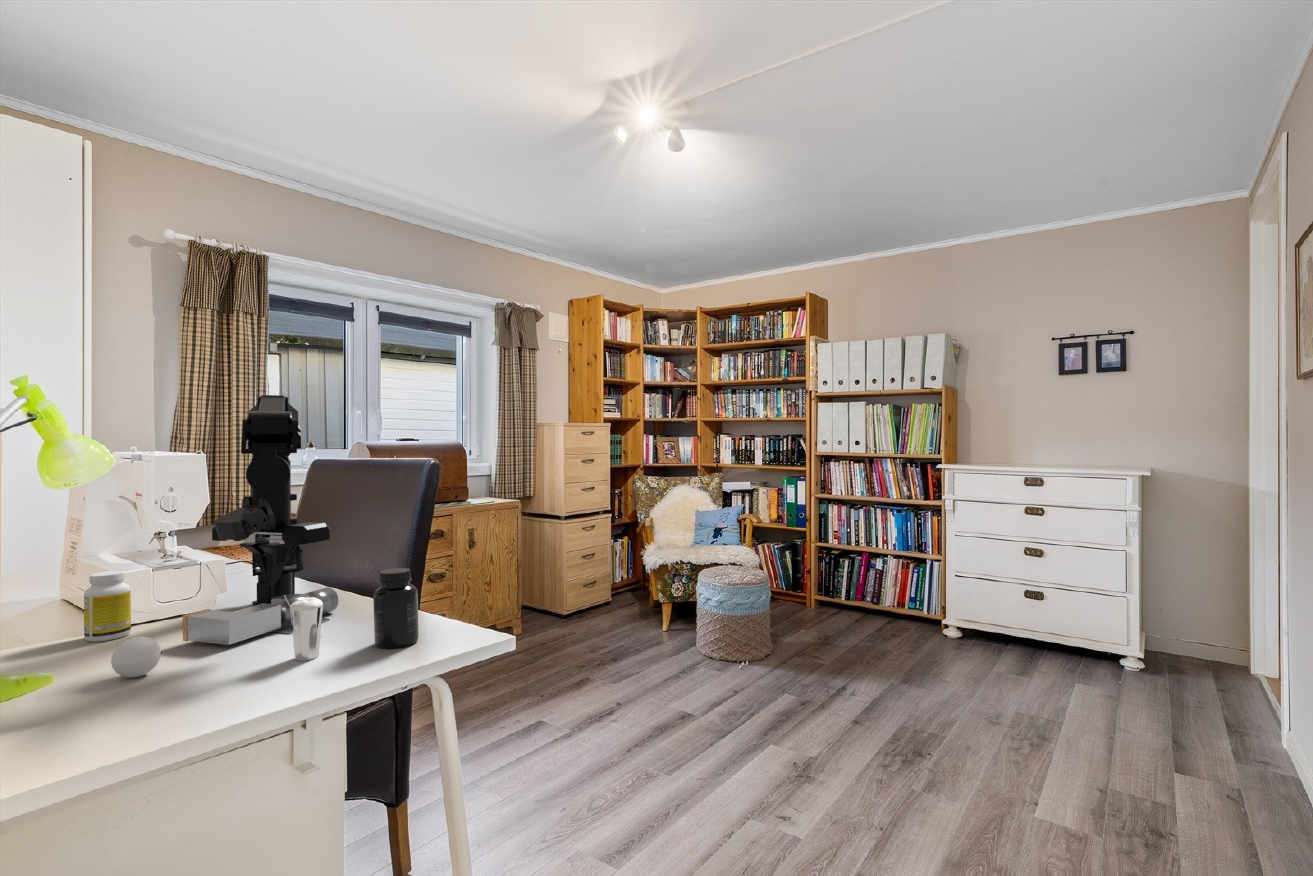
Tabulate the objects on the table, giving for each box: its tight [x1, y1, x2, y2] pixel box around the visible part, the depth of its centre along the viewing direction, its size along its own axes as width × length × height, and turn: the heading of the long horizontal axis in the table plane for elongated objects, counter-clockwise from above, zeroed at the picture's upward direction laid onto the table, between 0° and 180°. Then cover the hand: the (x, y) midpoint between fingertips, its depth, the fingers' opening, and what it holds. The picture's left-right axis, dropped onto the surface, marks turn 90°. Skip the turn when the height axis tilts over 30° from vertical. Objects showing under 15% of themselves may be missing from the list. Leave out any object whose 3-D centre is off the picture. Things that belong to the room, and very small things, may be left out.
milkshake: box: [284, 595, 323, 662], centre depth 100 cm, size 4×5×10 cm
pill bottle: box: [83, 570, 132, 643], centre depth 112 cm, size 6×6×11 cm
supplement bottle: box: [372, 567, 420, 650], centre depth 107 cm, size 7×7×12 cm
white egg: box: [110, 635, 163, 679], centre depth 94 cm, size 8×6×6 cm
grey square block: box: [182, 603, 281, 646], centre depth 111 cm, size 10×10×4 cm
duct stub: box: [268, 586, 339, 635], centre depth 121 cm, size 14×9×5 cm, turn 164°
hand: (271, 584), depth 106 cm, fingers closed
